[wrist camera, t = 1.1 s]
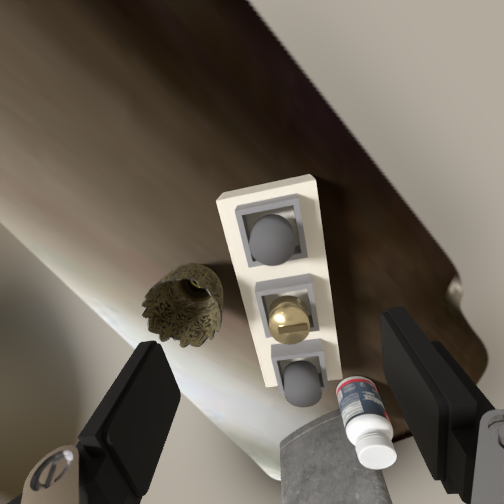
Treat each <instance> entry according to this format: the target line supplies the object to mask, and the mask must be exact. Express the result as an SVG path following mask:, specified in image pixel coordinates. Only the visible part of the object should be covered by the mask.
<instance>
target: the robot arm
mask: <svg viewBox="0 0 504 504" xmlns="http://www.w3.org/2000/svg"><path fill="white" fill-rule="evenodd" d="M380 319H381V336H382V352H383V368H384V374H385V377H386V380H387V382H388V384H389V386H390V388H391V390H392V393H393V395H394V397H395V399H396V401H397V403H398V405H399V407H400V410H401V412H402V414H403V416H404V418H405V420H406V422H407V424H408V427H409V429H410V431H411V433H412V435H413V437H414V439H415V441H416V443H417V446H418V448H419V450H420V452H421V454H422V456H423V458H424V460H425V462H426V465H427V467H428V469H429V471H430V473H431V475H432V477H433V478H434V480H441V482H442V484H443V486H444V488H445V490H446V492H447V494H459V496H460V498H461V499H462V501H463V502H465V503H466V504H504V409H495V408H494V407H493V405H492V404H491V403H490V402H489V400H488V399H487V398H486V397H485V396H484V394H483V393H482V392H481V391H480V390H479V388H478V387H477V386H476V385H475V383H474V382H473V381H472V380H471V379H470V377H469V376H468V375H467V374H466V373H465V371H464V370H463V369H462V368H461V366H460V365H459V364H458V363H457V362H456V360H455V359H454V358H453V357H452V356H451V354H450V353H449V352H448V351H447V349H446V348H445V347H444V346H443V345H442V344H441V343H440V342H439V341H429V339H428V338H427V337H426V336H425V334H424V333H423V332H422V330H421V329H420V328H419V327H418V325H417V324H416V323H415V321H414V320H413V319H412V318H411V316H410V315H409V314H408V312H407V311H406V310H405V309H404V308H403V307H394V308H387V309H385V313H381V315H380ZM180 397H181V394H180V390H179V387H178V385H177V383H176V380H175V378H174V375H173V373H172V370H171V368H170V366H169V363H168V361H167V358H166V356H165V353H164V351H163V349H162V346H161V345H160V344H157V342H156V341H147V342H141V343H139V345H138V346H137V348H136V349H135V351H134V352H133V354H132V355H131V357H130V358H129V360H128V361H127V363H126V364H125V366H124V367H123V369H122V370H121V372H120V374H119V375H118V377H117V378H116V380H115V381H114V383H113V384H112V386H111V387H110V389H109V390H108V392H107V393H106V395H105V396H104V398H103V400H102V401H101V403H100V404H99V406H98V407H97V409H96V410H95V412H94V413H93V415H92V416H91V418H90V419H89V421H88V423H87V424H86V426H85V427H84V429H83V430H82V432H81V433H80V435H79V436H78V439H79V440H80V441H79V442H78V444H77V445H76V447H75V446H74V445H66V446H62V447H60V448H58V449H55V450H54V451H52V452H51V453H49V454H48V455H46V456H45V457H44V458H43V459H42V460H41V461H40V462H39V463H38V464H37V465H36V466H35V467H34V468H33V470H32V471H31V472H30V474H29V476H28V477H27V479H26V482H25V485H24V489H23V493H21V494H20V495H19V496H17V497H16V498H15V499H13V500H12V501H11V502H9V503H8V504H140V501H141V499H142V496H144V495H145V494H146V493H147V491H148V489H149V486H150V483H151V481H152V478H153V475H154V472H155V469H156V467H157V464H158V461H159V458H160V455H161V453H162V450H163V447H164V444H165V441H166V439H167V436H168V433H169V430H170V427H171V424H172V422H173V418H174V416H175V413H176V410H177V407H178V405H179V402H180Z"/></svg>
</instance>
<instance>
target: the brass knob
mask: <svg viewBox="0 0 504 504" xmlns="http://www.w3.org/2000/svg"><path fill="white" fill-rule="evenodd" d="M269 331H270V334H271V336H272V337H273V338H274V339H275V340H276V341H278V342H280V343H282V344H287V345H291V344H297V343H299V342H301V341H303V340H304V339H305V338H306V337H307V336H308V334H309V332H310V323H309V318H308V313H307V309H306V305H305V304H304V302H303V301H302V300H301V299H299V298H298V297H295V296H292V295H284V296H281V297H278V298H277V299H275V300H274V301H273V302H272V304H271V305H270V309H269Z"/></svg>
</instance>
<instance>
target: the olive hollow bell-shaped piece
mask: <svg viewBox="0 0 504 504" xmlns="http://www.w3.org/2000/svg"><path fill="white" fill-rule="evenodd" d="M223 298H224V295H223V287H222V284H221V281H220V279H219V278H218V276H217V275H216V274H215V273H214V272H213V271H212V270H211V269H210V268H209V267H207V266H205V265H201V264H194V263H191V264H184V265H181V266H179V267H177V268H175V269H173V270H172V271H170V272H169V273H168V274H167V275H165V276H164V277H163V278H162V279H161V280H160V281H159V282H157V283H156V284H155V285H154V286H152V288H151V289H150V290H149V292H148V293H147V294H146V295H145V299H144V301H143V303H142V306H143V307H147V308H146V309H145V311H144V313H143V314H142V316H143V317H145V318H148V330H149V331H150V332H152V333H155V334H159V339H160V340H161V341H162V342H165V341H167V340H169V339H170V338H169V337H172V338H173V339H174V340H180V344H179V345H180V346H181V347H183V348H184V347H186V346H188V345H189V344H190V345H191V346H194V347H200V346H201V345H202V344H203V343H204V342H205V341H206V340H207V339H208V338H209V339H208V340H212V339H213V337H214V333H215V331H217V332H218V331H219V329H220V327H221V322H222V311H223Z"/></svg>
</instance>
